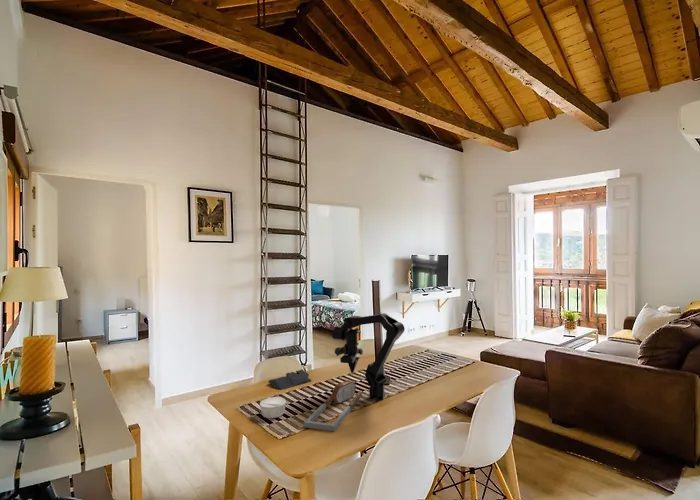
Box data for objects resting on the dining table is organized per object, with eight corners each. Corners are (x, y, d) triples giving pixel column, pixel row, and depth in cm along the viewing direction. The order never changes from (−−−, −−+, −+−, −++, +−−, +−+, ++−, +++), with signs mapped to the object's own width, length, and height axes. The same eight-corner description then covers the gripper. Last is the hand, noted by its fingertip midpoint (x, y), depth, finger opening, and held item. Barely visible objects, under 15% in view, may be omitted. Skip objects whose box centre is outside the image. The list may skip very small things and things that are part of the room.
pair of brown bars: (361, 396, 182) (361, 392, 182) (351, 409, 167) (351, 404, 167) (336, 393, 186) (336, 389, 186) (324, 406, 171) (324, 401, 171)
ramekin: (260, 421, 157) (260, 408, 157) (259, 410, 167) (259, 398, 168) (287, 417, 160) (287, 405, 160) (284, 407, 171) (284, 395, 171)
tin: (352, 394, 184) (351, 377, 185) (357, 396, 182) (356, 378, 183) (331, 404, 173) (331, 386, 173) (336, 406, 171) (336, 387, 171)
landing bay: (350, 411, 165) (350, 406, 165) (334, 431, 146) (334, 426, 146) (323, 407, 169) (322, 403, 169) (304, 427, 150) (304, 422, 151)
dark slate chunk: (264, 384, 203) (264, 375, 203) (298, 375, 217) (298, 366, 217) (279, 391, 191) (279, 382, 191) (314, 381, 206) (314, 372, 206)
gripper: (342, 336, 201) (343, 366, 200) (330, 344, 183) (330, 377, 183) (362, 337, 197) (363, 367, 197) (351, 346, 180) (352, 378, 179)
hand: (352, 372), depth 189 cm, fingers closed
